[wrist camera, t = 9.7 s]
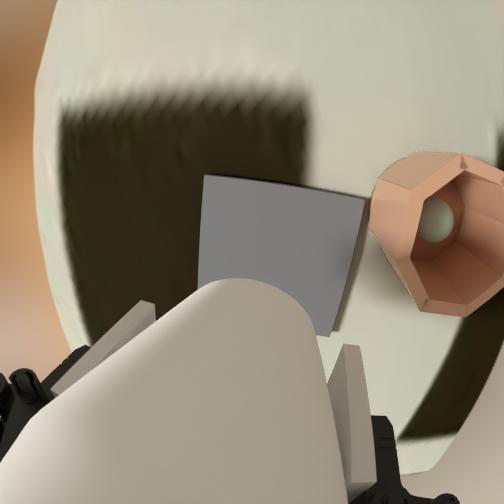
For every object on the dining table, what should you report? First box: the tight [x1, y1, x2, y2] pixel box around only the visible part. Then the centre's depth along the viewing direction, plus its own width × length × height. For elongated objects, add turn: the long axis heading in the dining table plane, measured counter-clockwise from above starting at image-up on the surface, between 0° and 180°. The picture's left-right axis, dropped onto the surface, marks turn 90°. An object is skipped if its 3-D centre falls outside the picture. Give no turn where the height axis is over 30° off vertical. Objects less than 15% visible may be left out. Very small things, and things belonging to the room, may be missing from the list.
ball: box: [417, 197, 454, 242], centre depth 16 cm, size 3×3×3 cm
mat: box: [198, 174, 365, 337], centre depth 22 cm, size 12×12×1 cm
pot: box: [368, 152, 504, 317], centre depth 15 cm, size 9×9×8 cm
